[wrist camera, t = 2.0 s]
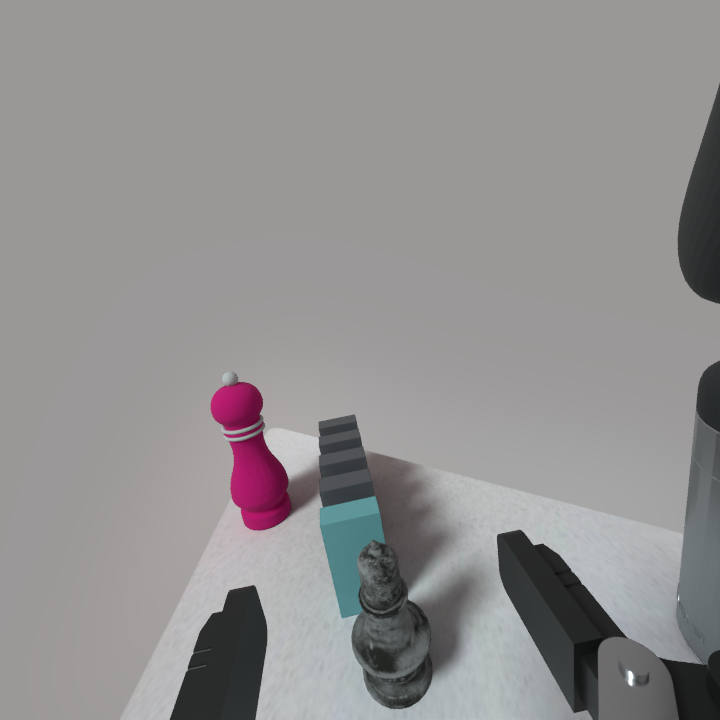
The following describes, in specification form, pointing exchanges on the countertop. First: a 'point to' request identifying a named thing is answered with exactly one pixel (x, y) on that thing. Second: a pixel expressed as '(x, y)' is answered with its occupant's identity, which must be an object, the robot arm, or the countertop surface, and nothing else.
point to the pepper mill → (251, 455)
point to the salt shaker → (390, 632)
